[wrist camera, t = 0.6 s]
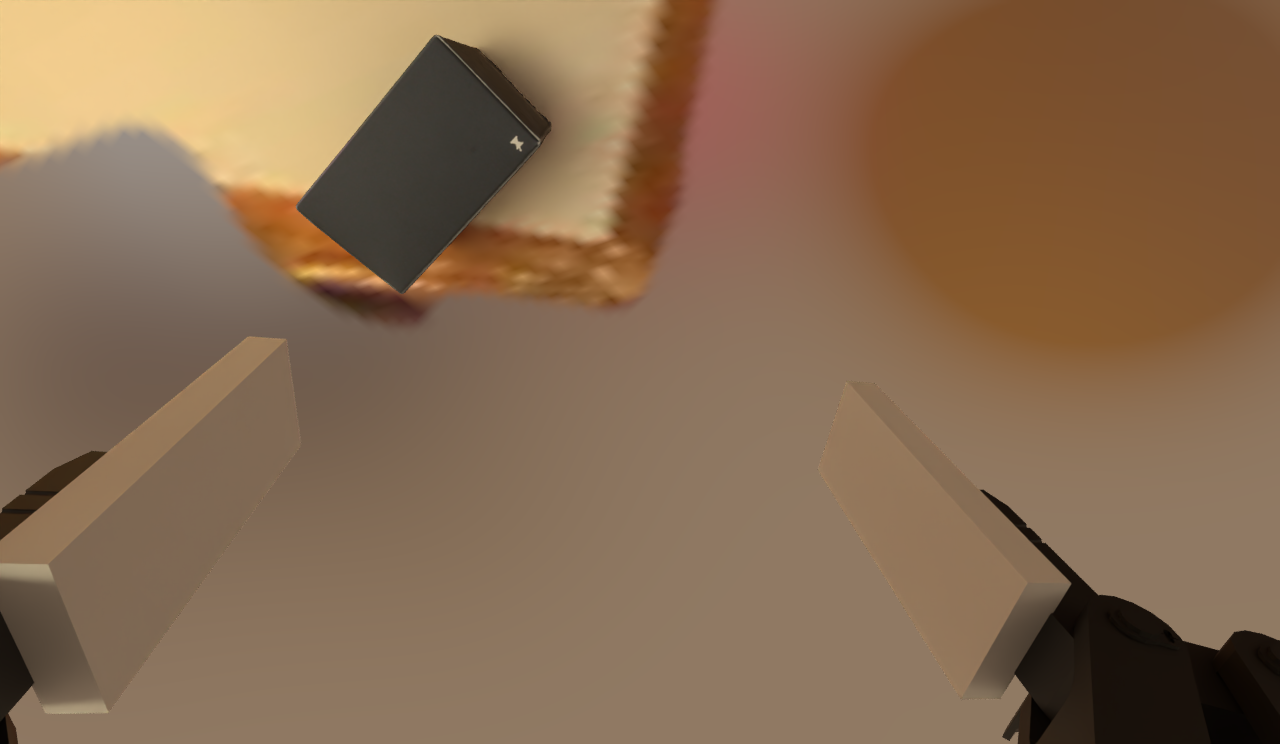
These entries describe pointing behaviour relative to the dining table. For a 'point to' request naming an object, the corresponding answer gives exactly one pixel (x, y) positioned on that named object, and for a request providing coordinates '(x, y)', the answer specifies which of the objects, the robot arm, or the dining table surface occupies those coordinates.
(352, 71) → the dining table surface
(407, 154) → the small box
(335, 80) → the dining table surface
